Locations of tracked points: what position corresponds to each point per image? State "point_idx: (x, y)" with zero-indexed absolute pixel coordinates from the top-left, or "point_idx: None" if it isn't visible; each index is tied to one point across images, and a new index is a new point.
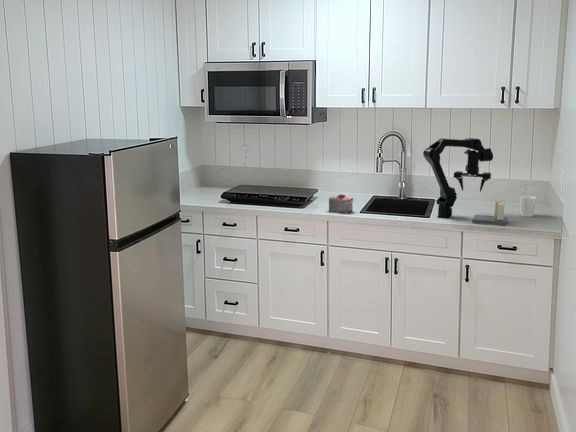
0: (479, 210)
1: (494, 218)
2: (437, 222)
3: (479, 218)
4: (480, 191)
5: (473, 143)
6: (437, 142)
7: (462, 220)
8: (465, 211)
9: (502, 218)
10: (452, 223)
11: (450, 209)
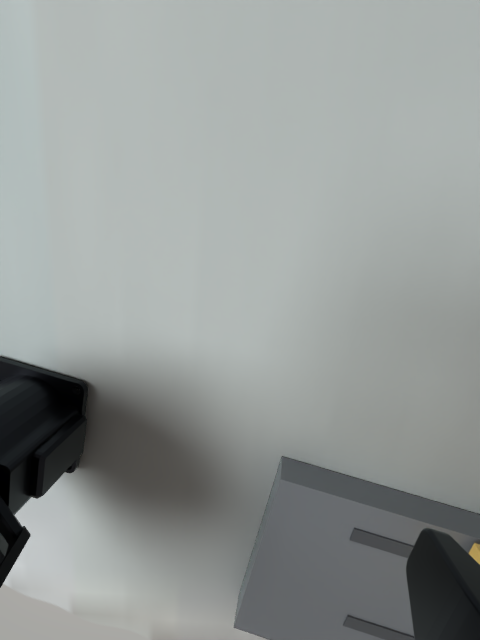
0: (402, 57)
1: None
2: None
3: (294, 607)
4: (417, 576)
5: None
6: None
7: (173, 519)
8: (223, 150)
9: None
10: (104, 593)
11: (32, 496)
